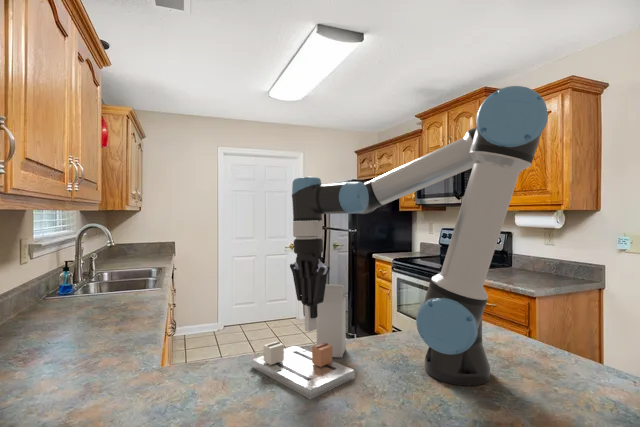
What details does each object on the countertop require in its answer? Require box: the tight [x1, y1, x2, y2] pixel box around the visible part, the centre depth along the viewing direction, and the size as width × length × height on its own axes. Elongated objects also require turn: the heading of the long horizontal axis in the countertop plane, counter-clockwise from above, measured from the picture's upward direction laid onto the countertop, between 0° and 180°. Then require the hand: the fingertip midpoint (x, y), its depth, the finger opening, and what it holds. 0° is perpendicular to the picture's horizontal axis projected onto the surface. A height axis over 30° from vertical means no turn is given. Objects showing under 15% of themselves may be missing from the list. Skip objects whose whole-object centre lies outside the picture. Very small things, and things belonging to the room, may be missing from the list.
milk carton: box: [316, 284, 347, 359], centre depth 102 cm, size 7×7×19 cm
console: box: [251, 345, 355, 400], centre depth 89 cm, size 22×14×2 cm, turn 44°
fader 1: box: [263, 340, 285, 365], centre depth 91 cm, size 3×4×4 cm
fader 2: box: [311, 343, 333, 367], centre depth 90 cm, size 3×4×4 cm
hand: (310, 329), depth 93 cm, fingers closed
